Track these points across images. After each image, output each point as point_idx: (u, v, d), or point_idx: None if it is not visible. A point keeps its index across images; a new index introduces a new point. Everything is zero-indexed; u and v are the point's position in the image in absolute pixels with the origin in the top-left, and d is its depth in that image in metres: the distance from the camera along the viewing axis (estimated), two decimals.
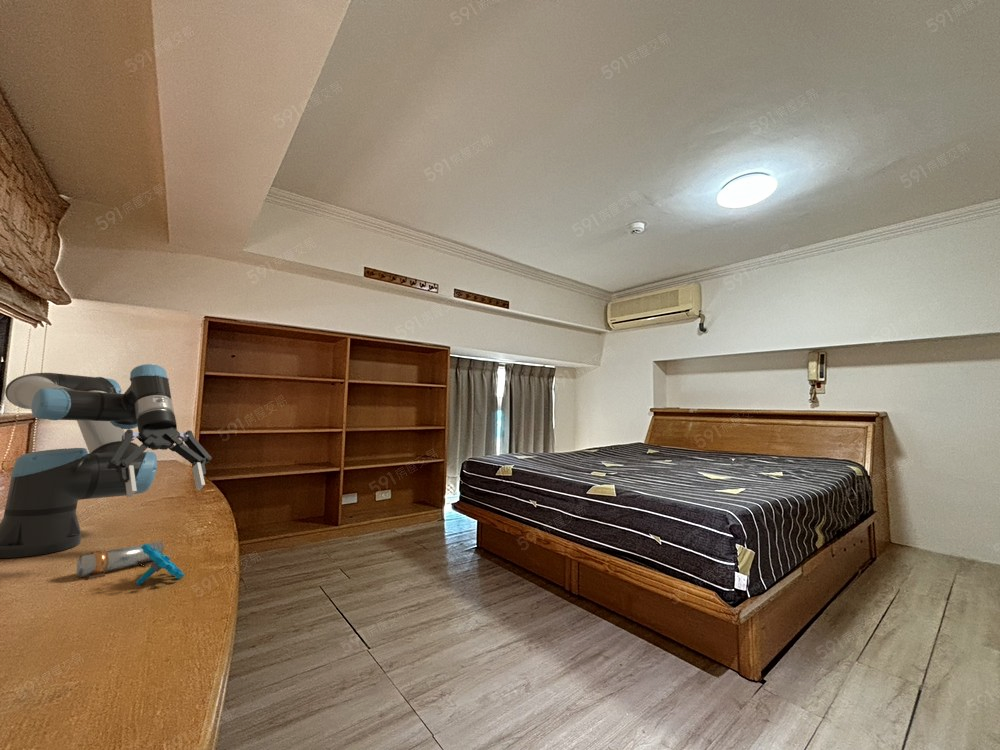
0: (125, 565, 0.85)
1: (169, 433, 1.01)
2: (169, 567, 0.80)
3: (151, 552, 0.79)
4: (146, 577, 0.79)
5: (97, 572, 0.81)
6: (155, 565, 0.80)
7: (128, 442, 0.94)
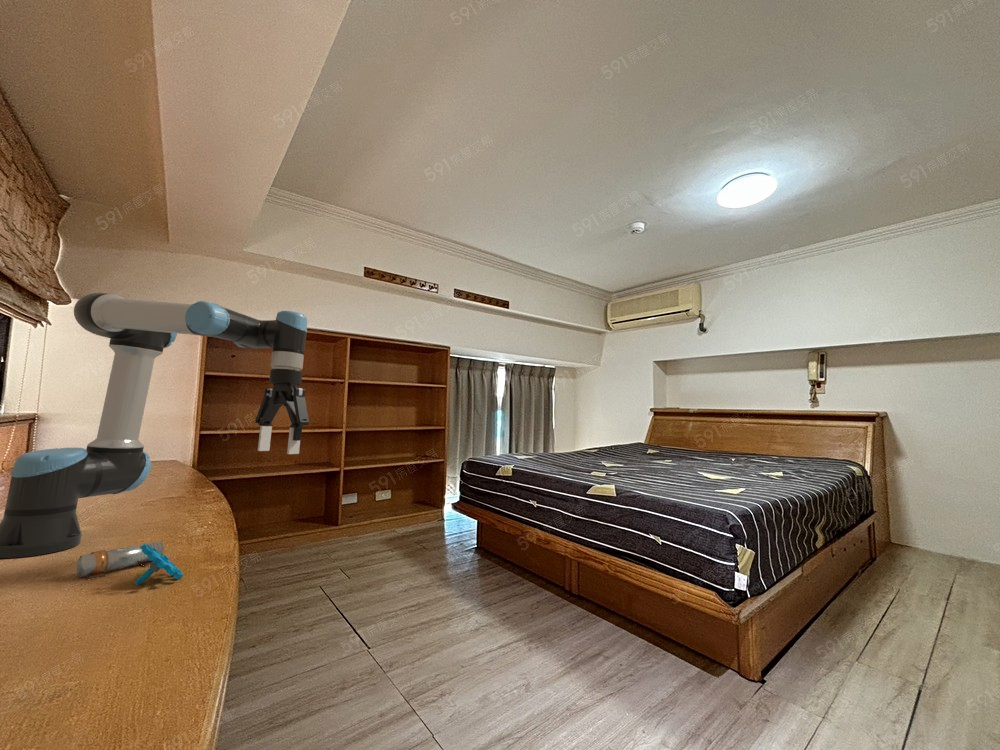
0: (125, 565, 0.85)
1: None
2: (168, 567, 0.80)
3: (150, 552, 0.79)
4: (145, 577, 0.79)
5: (97, 572, 0.81)
6: (154, 565, 0.80)
7: None
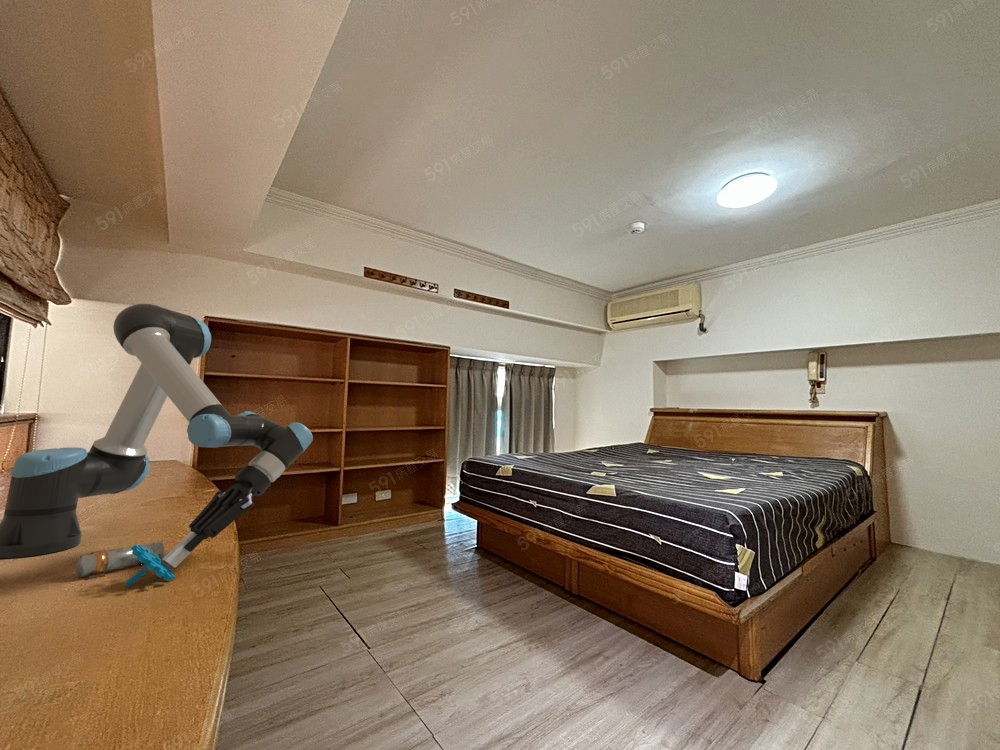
0: (125, 565, 0.85)
1: None
2: (158, 569, 0.79)
3: (140, 553, 0.78)
4: (136, 578, 0.78)
5: (97, 572, 0.81)
6: (145, 566, 0.79)
7: None
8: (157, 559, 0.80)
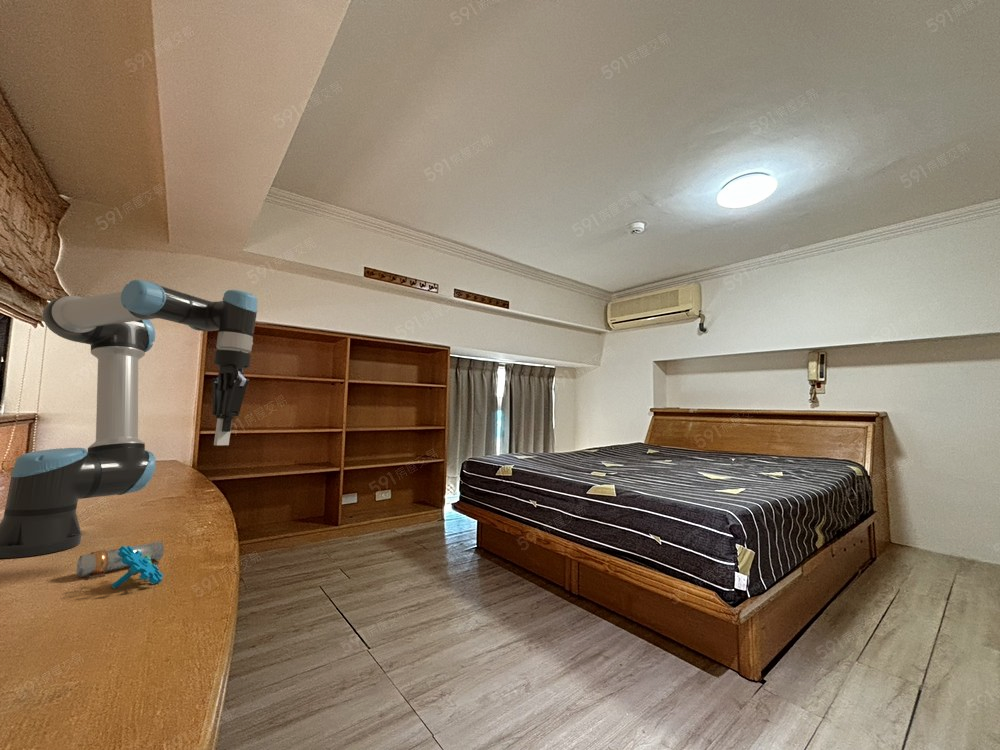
0: (125, 565, 0.85)
1: None
2: (143, 571, 0.77)
3: (126, 555, 0.76)
4: (122, 580, 0.77)
5: (97, 572, 0.81)
6: None
7: None
8: (144, 561, 0.79)
